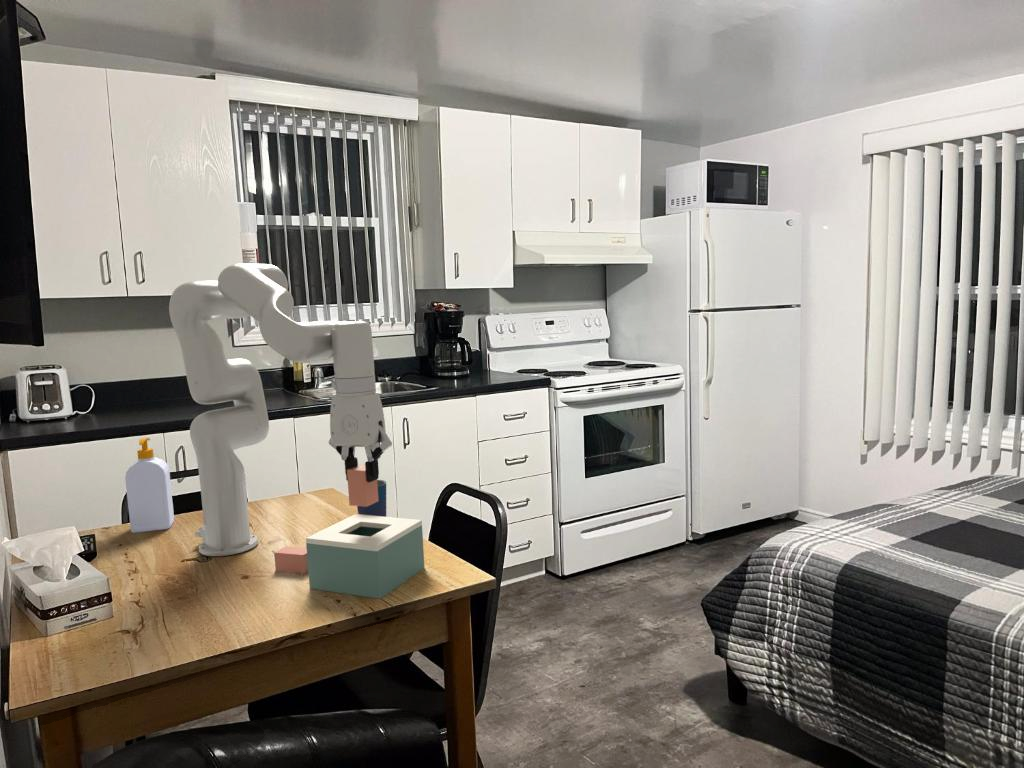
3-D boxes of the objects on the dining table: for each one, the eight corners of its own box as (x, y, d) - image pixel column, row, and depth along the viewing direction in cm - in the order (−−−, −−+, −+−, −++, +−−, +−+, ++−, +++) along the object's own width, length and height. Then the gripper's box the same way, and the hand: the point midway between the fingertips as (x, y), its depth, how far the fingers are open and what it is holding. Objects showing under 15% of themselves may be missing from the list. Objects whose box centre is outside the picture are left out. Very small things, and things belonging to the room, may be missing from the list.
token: (275, 571, 151) (274, 552, 151) (287, 564, 155) (285, 546, 155) (304, 573, 149) (303, 554, 149) (316, 566, 153) (314, 548, 152)
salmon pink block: (349, 505, 142) (346, 469, 141) (361, 499, 146) (359, 465, 145) (366, 506, 140) (364, 470, 140) (378, 501, 144) (376, 466, 143)
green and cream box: (309, 588, 141) (305, 538, 140) (358, 559, 155) (355, 513, 154) (380, 598, 134) (376, 546, 133) (424, 567, 149) (421, 520, 148)
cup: (383, 556, 157) (379, 487, 155) (353, 555, 158) (349, 487, 156) (395, 545, 163) (390, 479, 162) (366, 544, 165) (361, 479, 163)
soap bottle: (130, 534, 180) (120, 442, 178) (136, 526, 187) (126, 437, 184) (170, 529, 183) (160, 439, 180) (174, 521, 190) (165, 434, 187)
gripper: (307, 388, 140) (315, 482, 142) (381, 388, 134) (388, 487, 136) (331, 383, 147) (338, 473, 149) (403, 383, 140) (409, 477, 143)
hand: (362, 478), depth 142 cm, fingers closed on salmon pink block, 4 cm apart
